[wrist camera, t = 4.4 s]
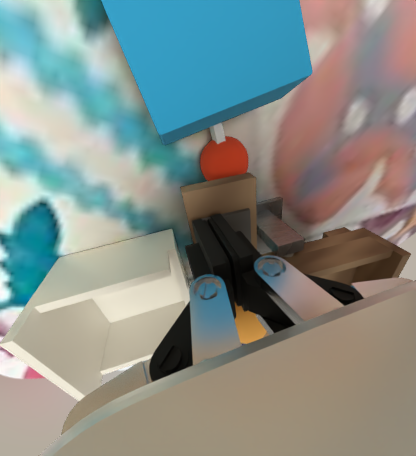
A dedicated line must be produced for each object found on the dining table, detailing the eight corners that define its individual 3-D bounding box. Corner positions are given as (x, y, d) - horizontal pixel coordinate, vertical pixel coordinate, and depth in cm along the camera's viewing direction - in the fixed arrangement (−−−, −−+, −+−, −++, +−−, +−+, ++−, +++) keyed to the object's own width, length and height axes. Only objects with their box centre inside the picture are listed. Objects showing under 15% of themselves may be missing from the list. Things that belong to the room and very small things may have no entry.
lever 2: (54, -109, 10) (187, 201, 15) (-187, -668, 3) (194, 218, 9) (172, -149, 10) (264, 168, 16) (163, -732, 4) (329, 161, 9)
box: (172, 228, 16) (182, 289, 10) (192, 297, 21) (207, 365, 15) (59, 257, 15) (-2, 344, 9) (108, 323, 20) (88, 408, 14)
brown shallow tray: (375, 139, 13) (468, 149, 9) (336, 272, 19) (379, 310, 15) (170, 182, 11) (174, 216, 8) (203, 309, 18) (214, 362, 14)
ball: (241, 277, 14) (279, 302, 12) (243, 303, 16) (277, 329, 14) (210, 304, 13) (248, 337, 11) (216, 330, 15) (250, 364, 12)
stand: (280, 197, 17) (325, 224, 13) (275, 273, 23) (306, 313, 18) (229, 209, 17) (257, 244, 12) (236, 285, 22) (258, 329, 17)
